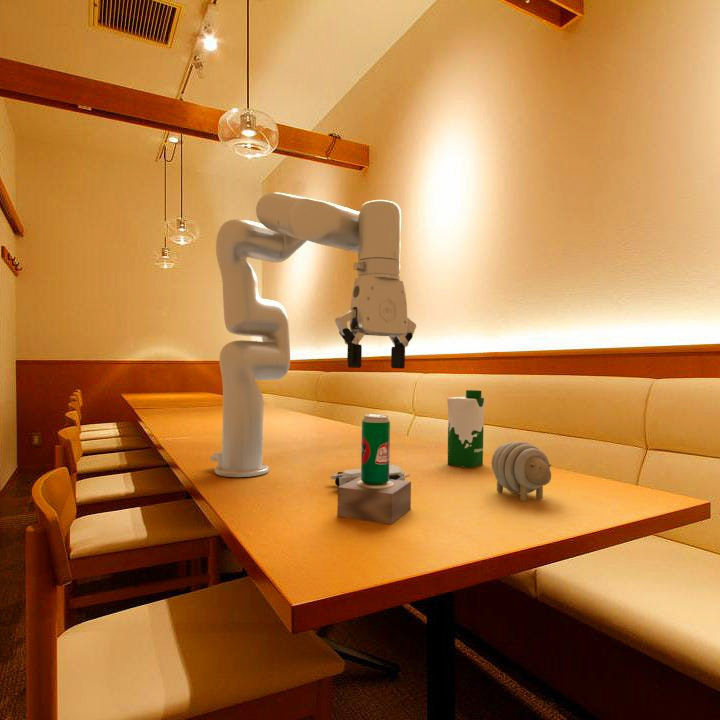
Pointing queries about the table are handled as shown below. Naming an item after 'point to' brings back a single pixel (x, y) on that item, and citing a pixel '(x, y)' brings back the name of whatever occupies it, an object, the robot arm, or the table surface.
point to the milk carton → (466, 429)
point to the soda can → (375, 450)
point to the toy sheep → (521, 469)
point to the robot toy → (350, 475)
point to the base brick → (374, 500)
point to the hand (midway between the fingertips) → (376, 367)
